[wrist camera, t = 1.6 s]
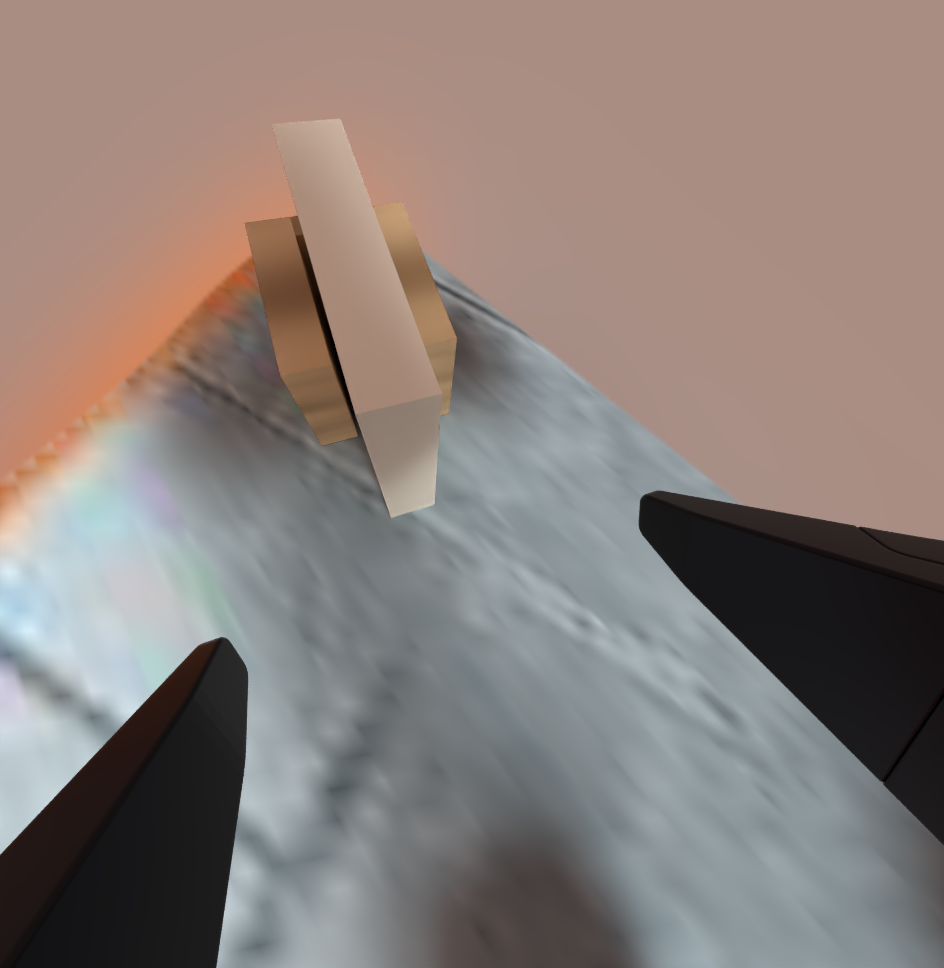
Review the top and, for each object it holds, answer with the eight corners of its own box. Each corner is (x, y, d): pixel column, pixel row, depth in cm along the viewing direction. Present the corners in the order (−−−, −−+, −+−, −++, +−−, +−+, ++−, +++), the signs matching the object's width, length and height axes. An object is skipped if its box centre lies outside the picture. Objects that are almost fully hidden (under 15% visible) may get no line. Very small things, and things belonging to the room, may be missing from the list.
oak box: (448, 413, 23) (457, 338, 17) (321, 445, 21) (280, 375, 15) (408, 303, 25) (402, 202, 19) (291, 325, 24) (244, 222, 18)
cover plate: (434, 504, 21) (441, 393, 11) (391, 518, 20) (355, 414, 10) (376, 330, 24) (340, 118, 14) (338, 338, 24) (271, 124, 14)
